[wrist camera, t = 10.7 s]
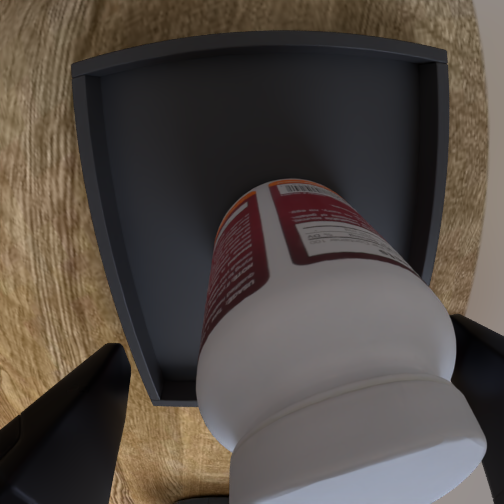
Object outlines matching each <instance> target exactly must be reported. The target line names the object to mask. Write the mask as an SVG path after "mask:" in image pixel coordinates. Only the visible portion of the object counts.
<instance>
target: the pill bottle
mask: <svg viewBox="0 0 504 504" xmlns="http://www.w3.org/2000/svg"><path fill="white" fill-rule="evenodd" d="M455 360H456V337H455V332H454V327H453V324H452V321H451V319H450V316H449V314H448V312H447V310H446V308H445V307H444V305H443V304H442V303H441V301H440V300H439V299H438V297H437V296H436V295H435V294H434V292H433V291H432V290H431V289H430V288H429V286H428V285H427V284H426V283H425V282H424V281H423V279H422V278H421V277H420V276H419V275H418V274H417V273H416V272H415V271H414V270H413V269H412V268H411V267H410V266H409V264H408V263H407V262H406V261H405V260H404V259H403V258H402V257H401V256H400V255H399V254H398V253H397V252H396V251H395V250H394V249H393V248H392V247H391V246H390V244H389V243H388V242H387V241H386V240H385V239H384V238H383V237H382V236H381V235H380V234H379V233H378V232H377V231H376V230H375V229H374V228H373V227H372V226H371V225H370V224H369V223H368V222H367V221H366V220H365V219H364V218H363V217H362V216H361V215H360V214H359V213H358V212H357V211H356V210H355V209H353V208H352V207H351V206H350V204H348V203H347V202H346V201H345V200H344V199H343V198H342V197H341V196H339V195H338V194H337V193H335V192H334V191H332V190H330V189H329V188H327V187H325V186H323V185H321V184H318V183H316V182H312V181H309V180H303V179H292V178H291V179H280V180H275V181H270V182H267V183H264V184H262V185H260V186H257V187H255V188H253V189H252V190H250V191H248V192H247V193H246V194H244V195H243V196H242V197H241V198H240V199H238V200H237V201H236V202H235V204H234V205H233V206H232V207H231V208H230V209H229V211H228V212H227V213H226V215H225V216H224V218H223V220H222V222H221V224H220V226H219V229H218V232H217V235H216V239H215V243H214V250H213V257H212V264H211V271H210V277H209V284H208V290H207V298H206V304H205V313H204V321H203V327H202V336H201V342H200V350H199V356H198V365H197V377H196V395H197V402H198V407H199V410H200V413H201V416H202V418H203V420H204V422H205V424H206V426H207V427H208V429H209V430H210V432H211V433H212V435H213V436H214V437H215V438H216V439H217V440H218V441H219V442H220V443H221V444H222V445H223V446H224V447H225V448H227V449H228V450H229V451H231V452H232V456H231V461H230V484H229V504H431V503H433V502H434V501H436V500H438V499H439V498H441V497H442V496H444V495H446V494H447V493H448V492H450V491H451V490H452V489H454V488H455V487H457V486H458V485H459V484H460V483H461V482H462V481H463V480H465V479H466V478H467V477H468V476H469V475H470V474H471V473H472V472H473V471H474V469H475V468H476V467H477V466H478V465H479V463H480V462H481V461H482V459H483V457H484V455H485V453H486V450H487V442H486V438H485V435H484V433H483V431H482V429H481V427H480V425H479V423H478V421H477V419H476V417H475V415H474V414H473V412H472V410H471V408H470V406H469V404H468V402H467V400H466V398H465V397H464V395H463V394H462V393H461V392H460V391H459V390H458V389H457V388H456V387H455V386H454V385H453V384H452V383H451V382H450V380H451V377H452V374H453V371H454V366H455Z"/></svg>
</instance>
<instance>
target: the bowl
mask: <svg viewBox="0 0 504 504" xmlns="http://www.w3.org/2000/svg"><path fill="white" fill-rule="evenodd" d="M174 504H229V497H204V498H192V499H187V500H182V501H178V502H176V503H174Z"/></svg>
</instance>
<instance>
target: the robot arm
mask: <svg viewBox="0 0 504 504" xmlns="http://www.w3.org/2000/svg"><path fill="white" fill-rule="evenodd" d="M449 316H450V319H451V321H452V324H453V327H454V332H455V337H456V360H455V366H454V371H453V374H452V377H451V382H452V384H453V385H454V386H455V387H456V388H457V389H458V390H459V391H460V392H461V393H462V394H463V395H464V397H465V398H466V400H467V402H468V404H469V406H470V408H471V410H472V412H473V414H474V415H475V417H476V419H477V421H478V423H479V425H480V427H481V429H482V431H483V433H484V435H485V438H486V442H487V450H486V453H485V455H484V457H483V459H482V464H483V467H484V471H485V474H486V477H487V480H488V483H489V486H490V490H491V494H492V497H493V498H494V499H493V501H494V504H504V336H502V335H500V334H498V333H496V332H494V331H492V330H490V329H488V328H486V327H484V326H482V325H480V324H478V323H477V322H475V321H472V320H471V319H469V318H466V317H465V316H463V315H461V314H453V315H449ZM130 377H131V366H130V363H129V360H128V358H127V355H126V353H125V350H124V348H123V346H122V345H121V344H120V343H107V344H105V345H104V346H103V347H101V348H100V349H99V350H98V351H96V352H95V353H94V354H93V355H91V356H90V357H89V358H88V359H86V360H85V361H84V362H83V363H81V364H80V365H79V366H78V367H77V368H75V369H74V370H73V371H72V372H70V373H69V374H68V375H67V376H65V377H64V378H63V379H62V380H60V381H59V382H58V383H57V384H56V385H54V386H53V387H52V388H51V389H49V390H48V391H47V392H46V393H45V394H43V395H42V396H41V397H40V398H38V399H37V400H36V401H35V402H34V403H32V404H31V405H30V406H29V407H28V408H26V409H25V410H24V411H23V412H21V415H18V416H17V417H15V418H14V419H13V420H12V421H11V422H9V423H8V424H7V425H6V426H4V427H3V428H2V429H1V430H0V504H109V498H110V493H111V487H112V481H113V476H114V471H115V466H116V461H117V456H118V451H119V446H120V442H121V437H122V433H123V428H124V423H125V418H126V410H127V401H128V393H129V385H130Z"/></svg>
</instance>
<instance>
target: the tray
mask: <svg viewBox="0 0 504 504" xmlns="http://www.w3.org/2000/svg"><path fill="white" fill-rule="evenodd" d="M447 63H448V61H447V51H446V50H443V49H439V48H435V47H431V46H426V45H422V44H417V43H412V42H406V41H401V40H395V39H389V38H382V37H375V36H367V35H359V34H349V33H337V32H322V31H290V30H278V31H246V32H231V33H219V34H209V35H201V36H193V37H185V38H179V39H172V40H166V41H161V42H155V43H150V44H145V45H140V46H136V47H131V48H127V49H123V50H118V51H114V52H111V53H107V54H103V55H99V56H96V57H92V58H89V59H86V60H82V61H79V62H76V63H73V64H71V72H72V78H73V79H72V90H73V102H74V113H75V122H76V130H77V138H78V146H79V153H80V159H81V165H82V171H83V177H84V183H85V188H86V193H87V198H88V203H89V208H90V213H91V218H92V222H93V226H94V231H95V235H96V239H97V243H98V247H99V251H100V255H101V259H102V262H103V266H104V270H105V273H106V277H107V280H108V284H109V287H110V290H111V294H112V297H113V300H114V303H115V306H116V310H117V313H118V316H119V319H120V322H121V325H122V328H123V330H124V333H125V336H126V339H127V342H128V345H129V347H130V350H131V353H132V355H133V358H134V361H135V363H136V366H137V368H138V371H139V373H140V376H141V378H142V381H143V383H144V386H145V388H146V390H147V393H148V395H149V397H150V399H151V402H152V404H153V406H173V407H198V402H197V395H196V377H197V365H198V356H199V350H200V342H201V336H202V327H203V321H204V313H205V304H206V298H207V290H208V284H209V277H210V271H211V264H212V257H213V250H214V243H215V239H216V235H217V232H218V229H219V226H220V224H221V222H222V220H223V218H224V216H225V215H226V213H227V212H228V211H229V209H230V208H231V207H232V206H233V205H234V204H235V202H236V201H237V200H238V199H240V198H241V197H242V196H243V195H244V194H246V193H247V192H248V191H250V190H252V189H253V188H255V187H257V186H260V185H262V184H264V183H267V182H270V181H275V180H280V179H291V178H292V179H303V180H309V181H312V182H316V183H318V184H321V185H323V186H325V187H327V188H329V189H330V190H332V191H334V192H335V193H337V194H338V195H339V196H341V197H342V198H343V199H344V200H345V201H346V202H347V203H348V204H350V206H351V207H352V208H353V209H355V210H356V211H357V212H358V213H359V214H360V215H361V216H362V217H363V218H364V219H365V220H366V221H367V222H368V223H369V224H370V225H371V226H372V227H373V228H374V229H375V230H376V231H377V232H378V233H379V234H380V235H381V236H382V237H383V238H384V239H385V240H386V241H387V242H388V243H389V244H390V246H391V247H392V248H393V249H394V250H395V251H396V252H397V253H398V254H399V255H400V256H401V257H402V258H403V259H404V260H405V261H406V262H407V263H408V264H409V266H410V267H411V268H412V269H413V270H414V271H415V272H416V273H417V274H418V275H419V276H420V277H421V278H422V279H423V281H424V282H425V283H426V284H427V285H428V286H429V285H430V281H431V276H432V272H433V267H434V262H435V256H436V251H437V245H438V239H439V233H440V227H441V220H442V213H443V205H444V196H445V187H446V176H447V163H448V145H449V78H448V65H447Z"/></svg>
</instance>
